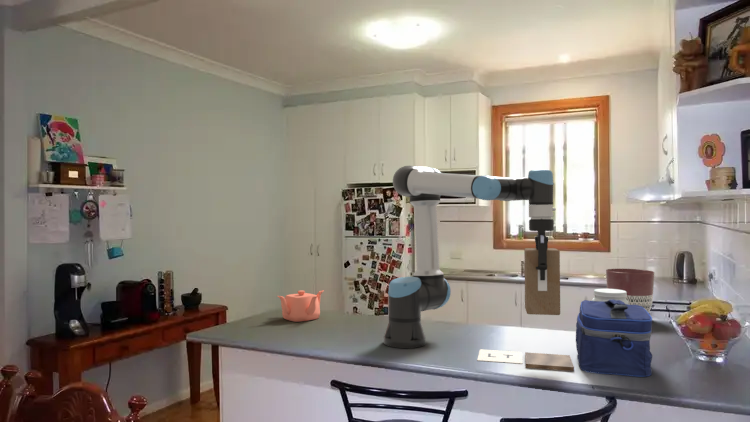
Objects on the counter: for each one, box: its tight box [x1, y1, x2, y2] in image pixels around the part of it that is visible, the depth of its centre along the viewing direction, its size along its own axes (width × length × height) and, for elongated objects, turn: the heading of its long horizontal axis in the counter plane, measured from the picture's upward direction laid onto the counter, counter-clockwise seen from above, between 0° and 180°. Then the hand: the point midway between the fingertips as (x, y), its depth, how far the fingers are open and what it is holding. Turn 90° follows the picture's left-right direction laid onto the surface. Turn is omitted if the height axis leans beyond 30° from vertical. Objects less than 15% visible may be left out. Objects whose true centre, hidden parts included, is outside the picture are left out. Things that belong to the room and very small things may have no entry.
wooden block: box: [524, 247, 561, 316], centre depth 175 cm, size 10×10×20 cm
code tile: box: [477, 348, 523, 365], centre depth 182 cm, size 14×14×1 cm
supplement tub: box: [591, 288, 629, 305], centre depth 206 cm, size 13×13×18 cm
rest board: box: [524, 351, 575, 372], centre depth 174 cm, size 14×14×1 cm
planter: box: [605, 268, 655, 313], centre depth 244 cm, size 20×20×21 cm
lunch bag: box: [575, 299, 653, 378], centre depth 173 cm, size 31×21×20 cm
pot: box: [277, 289, 325, 323], centre depth 242 cm, size 18×17×12 cm
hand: (541, 288), depth 175 cm, fingers closed on wooden block, 10 cm apart
